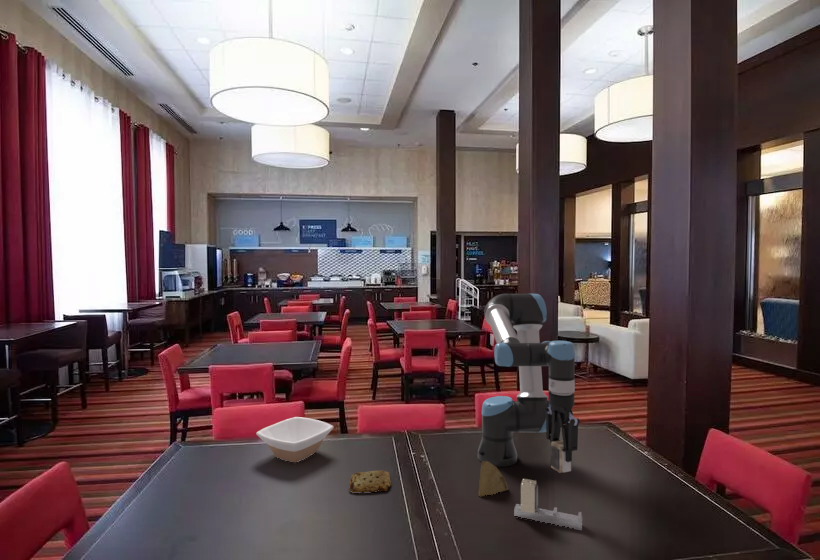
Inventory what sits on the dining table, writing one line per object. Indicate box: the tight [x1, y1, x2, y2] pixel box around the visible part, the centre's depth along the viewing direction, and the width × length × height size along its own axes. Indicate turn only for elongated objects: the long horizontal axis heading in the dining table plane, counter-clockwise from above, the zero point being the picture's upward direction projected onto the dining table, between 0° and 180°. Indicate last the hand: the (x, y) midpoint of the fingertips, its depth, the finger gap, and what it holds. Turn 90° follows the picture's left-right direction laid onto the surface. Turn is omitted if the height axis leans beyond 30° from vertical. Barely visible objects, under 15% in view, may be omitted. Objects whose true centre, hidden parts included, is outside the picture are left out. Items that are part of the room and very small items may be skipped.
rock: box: [477, 461, 509, 498], centre depth 152 cm, size 11×9×10 cm
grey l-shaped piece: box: [513, 478, 583, 531], centre depth 135 cm, size 19×4×10 cm, turn 68°
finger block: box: [550, 439, 564, 474], centre depth 140 cm, size 4×4×8 cm
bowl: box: [256, 416, 334, 462], centre depth 182 cm, size 24×25×11 cm
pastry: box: [348, 470, 392, 492], centre depth 159 cm, size 17×17×3 cm
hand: (561, 467), depth 141 cm, fingers closed on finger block, 4 cm apart
